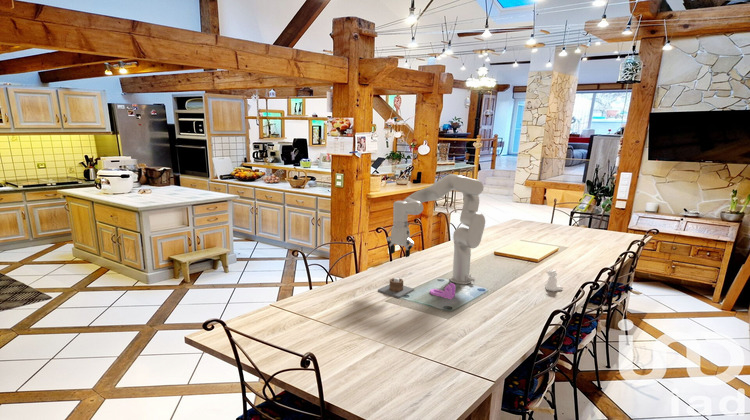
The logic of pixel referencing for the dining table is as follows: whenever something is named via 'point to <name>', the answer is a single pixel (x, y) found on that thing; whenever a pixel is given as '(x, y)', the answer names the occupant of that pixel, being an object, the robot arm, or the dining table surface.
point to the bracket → (447, 293)
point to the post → (396, 294)
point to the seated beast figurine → (552, 281)
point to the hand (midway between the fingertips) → (399, 254)
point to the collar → (396, 285)
